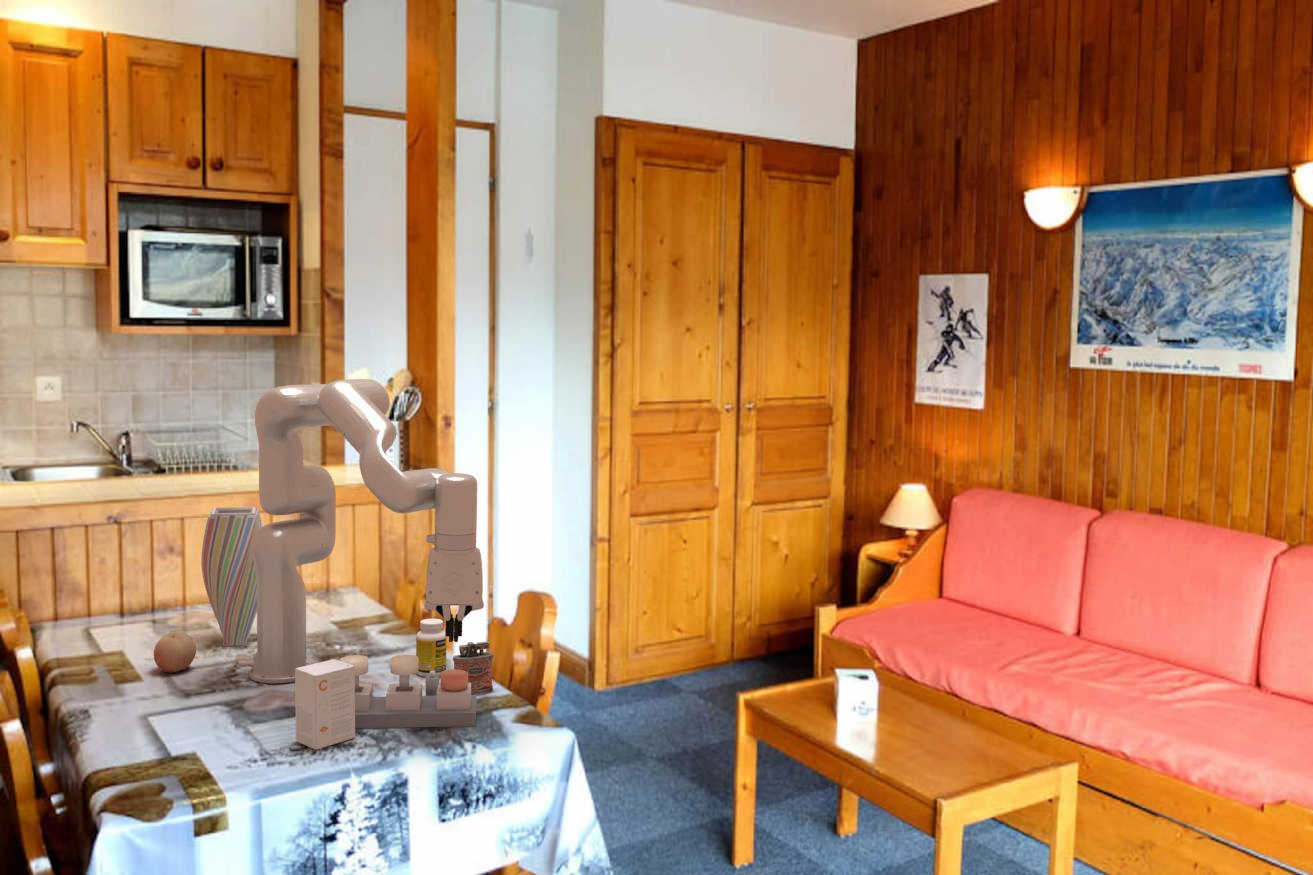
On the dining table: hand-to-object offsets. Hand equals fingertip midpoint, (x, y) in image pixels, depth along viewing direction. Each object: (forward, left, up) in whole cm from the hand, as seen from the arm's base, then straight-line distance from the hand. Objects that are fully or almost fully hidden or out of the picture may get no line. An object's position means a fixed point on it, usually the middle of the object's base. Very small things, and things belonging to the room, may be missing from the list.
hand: (453, 639), depth 209 cm
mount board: (-9, 0, -15) cm, 17 cm away
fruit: (-58, +31, -15) cm, 67 cm away
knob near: (-18, 0, -9) cm, 20 cm away
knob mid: (-9, 0, -9) cm, 12 cm away
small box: (-21, -11, -15) cm, 28 cm away
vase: (-51, +52, -15) cm, 74 cm away
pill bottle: (-6, +27, -15) cm, 32 cm away
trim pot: (-4, +8, -15) cm, 17 cm away
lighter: (+3, +14, -15) cm, 21 cm away
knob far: (0, 0, -12) cm, 12 cm away
